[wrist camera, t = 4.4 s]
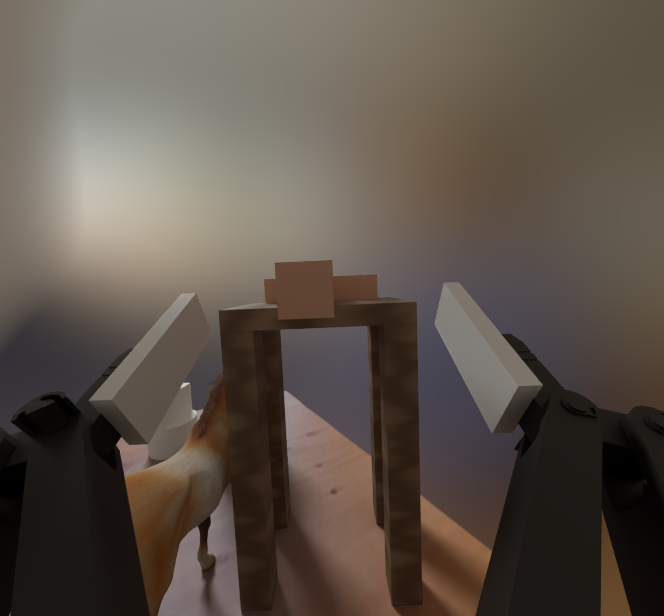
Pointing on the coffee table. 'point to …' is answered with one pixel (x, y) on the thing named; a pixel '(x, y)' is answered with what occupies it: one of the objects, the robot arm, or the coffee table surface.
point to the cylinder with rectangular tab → (174, 426)
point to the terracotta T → (314, 289)
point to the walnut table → (271, 445)
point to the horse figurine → (180, 497)
